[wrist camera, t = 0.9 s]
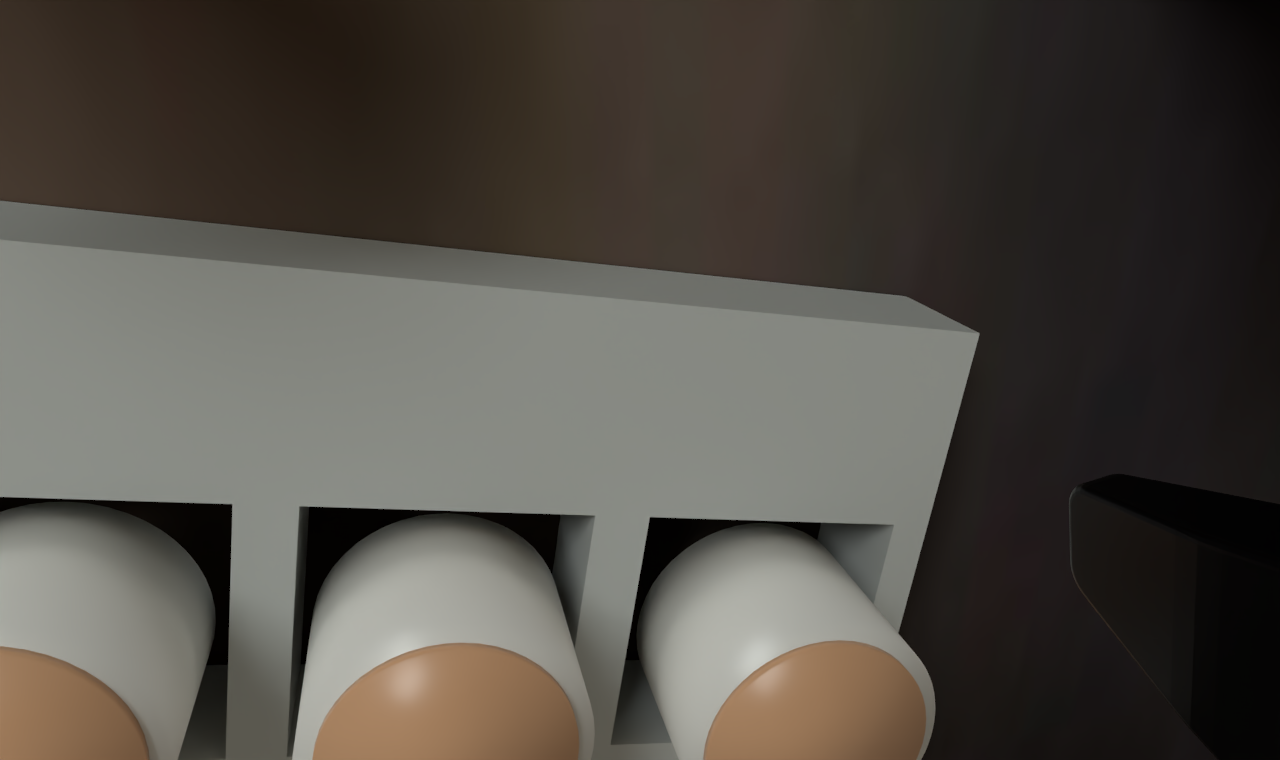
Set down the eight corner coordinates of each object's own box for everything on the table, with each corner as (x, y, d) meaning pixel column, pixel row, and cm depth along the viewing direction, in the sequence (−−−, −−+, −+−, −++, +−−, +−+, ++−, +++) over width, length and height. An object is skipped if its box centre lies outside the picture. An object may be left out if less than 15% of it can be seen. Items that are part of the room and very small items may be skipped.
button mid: (573, 517, 19) (616, 632, 15) (544, 720, 20) (576, 869, 17) (318, 509, 17) (297, 633, 14) (306, 726, 19) (284, 891, 15)
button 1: (218, 506, 17) (169, 634, 13) (213, 728, 18) (168, 899, 15) (-96, 496, 16) (-245, 636, 12) (-75, 737, 17) (-202, 926, 13)
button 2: (867, 526, 21) (970, 631, 17) (821, 712, 22) (906, 846, 18) (655, 519, 19) (716, 632, 16) (621, 717, 21) (669, 863, 17)
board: (906, 296, 22) (979, 333, 19) (784, 792, 26) (831, 881, 23) (-123, 187, 16) (-228, 217, 14) (-66, 837, 20) (-138, 960, 18)
